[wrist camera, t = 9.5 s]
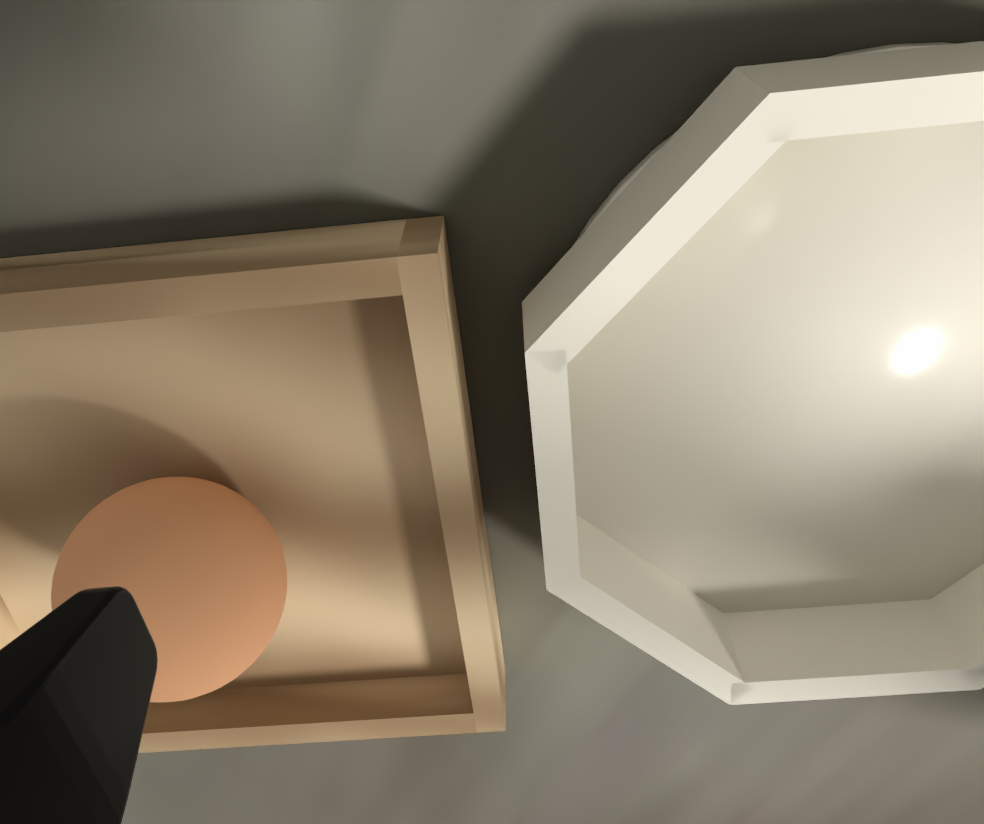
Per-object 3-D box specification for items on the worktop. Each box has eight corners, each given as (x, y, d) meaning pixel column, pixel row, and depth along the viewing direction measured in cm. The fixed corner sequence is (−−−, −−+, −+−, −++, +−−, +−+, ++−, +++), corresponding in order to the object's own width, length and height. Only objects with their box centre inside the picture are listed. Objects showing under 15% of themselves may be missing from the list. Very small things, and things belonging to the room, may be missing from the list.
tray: (505, 668, 25) (505, 730, 24) (53, 698, 26) (19, 760, 24) (443, 215, 18) (437, 253, 16) (-178, 275, 19) (-252, 318, 17)
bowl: (1090, 593, 24) (1162, 678, 21) (552, 629, 25) (558, 715, 22) (1303, 0, 16) (1456, 22, 13) (502, 84, 17) (502, 120, 14)
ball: (322, 582, 23) (286, 742, 18) (138, 598, 23) (61, 760, 19) (279, 425, 20) (226, 568, 16) (72, 444, 20) (-35, 591, 16)
